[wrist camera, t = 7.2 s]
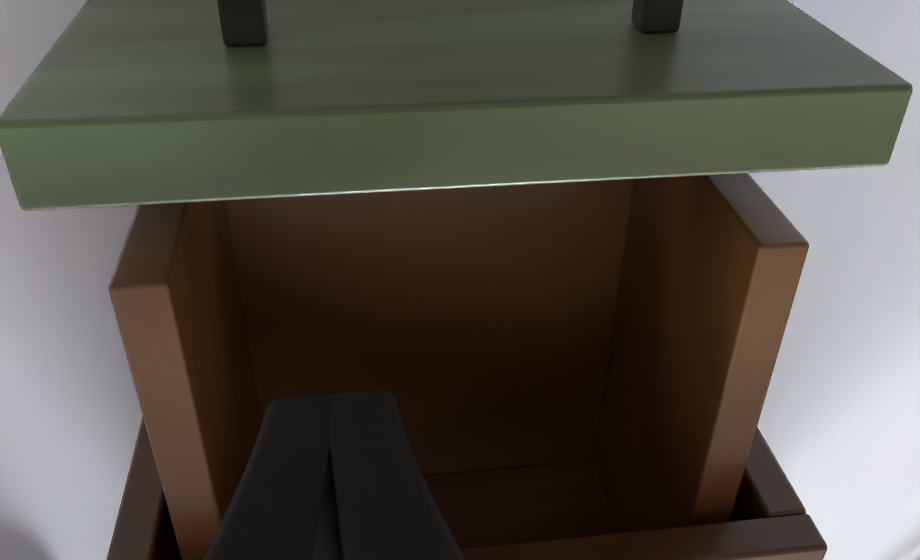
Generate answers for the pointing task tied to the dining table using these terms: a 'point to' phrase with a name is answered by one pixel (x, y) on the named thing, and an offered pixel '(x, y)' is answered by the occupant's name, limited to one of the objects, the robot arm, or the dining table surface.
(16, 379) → the dining table surface
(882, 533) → the dining table surface
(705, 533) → the cabinet
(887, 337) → the dining table surface
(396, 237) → the drawer
